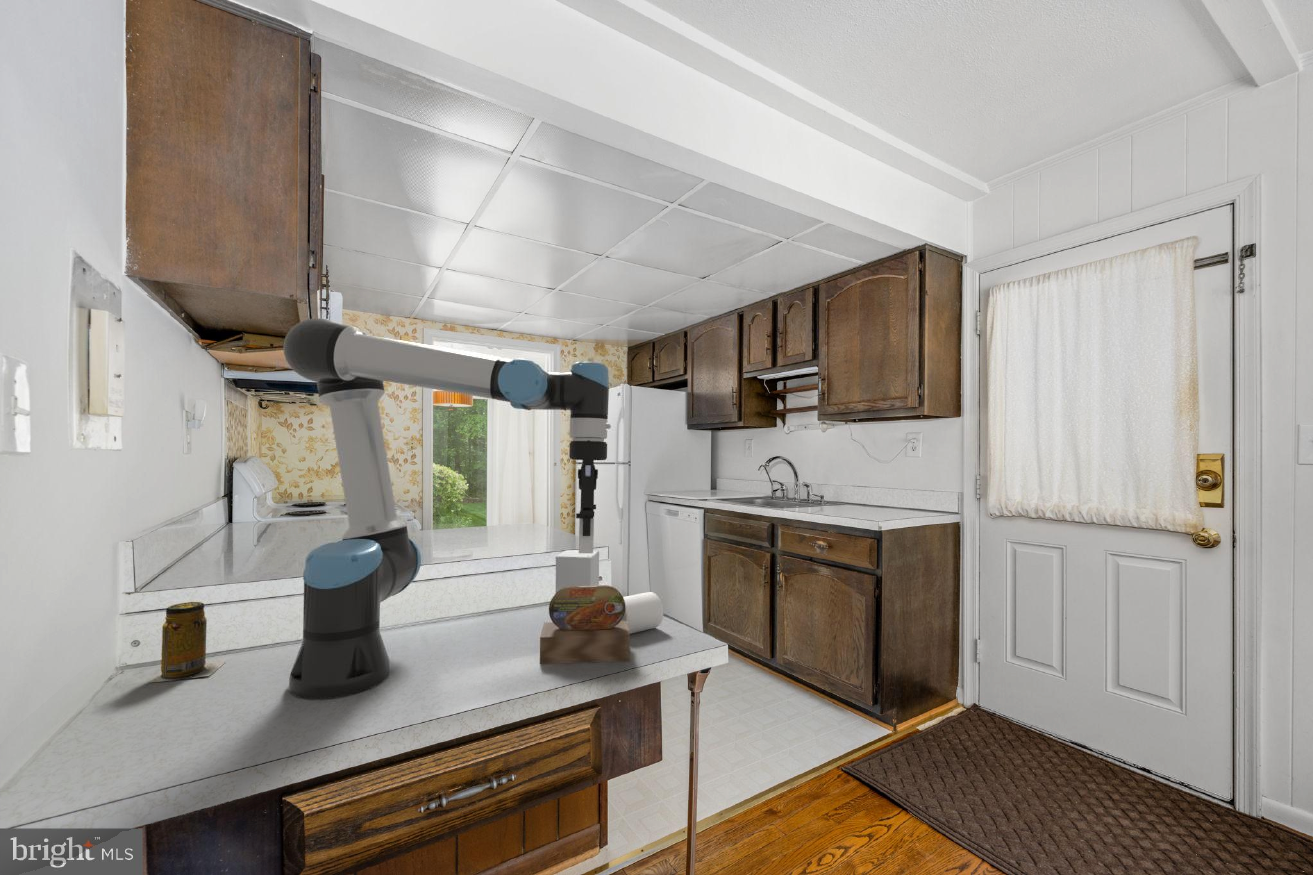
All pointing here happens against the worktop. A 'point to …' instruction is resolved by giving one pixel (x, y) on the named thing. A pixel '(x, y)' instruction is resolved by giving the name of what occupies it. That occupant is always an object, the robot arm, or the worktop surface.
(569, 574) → the supplement box
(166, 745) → the worktop surface
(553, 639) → the plinth
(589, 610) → the tin
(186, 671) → the condiment
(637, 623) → the mug
